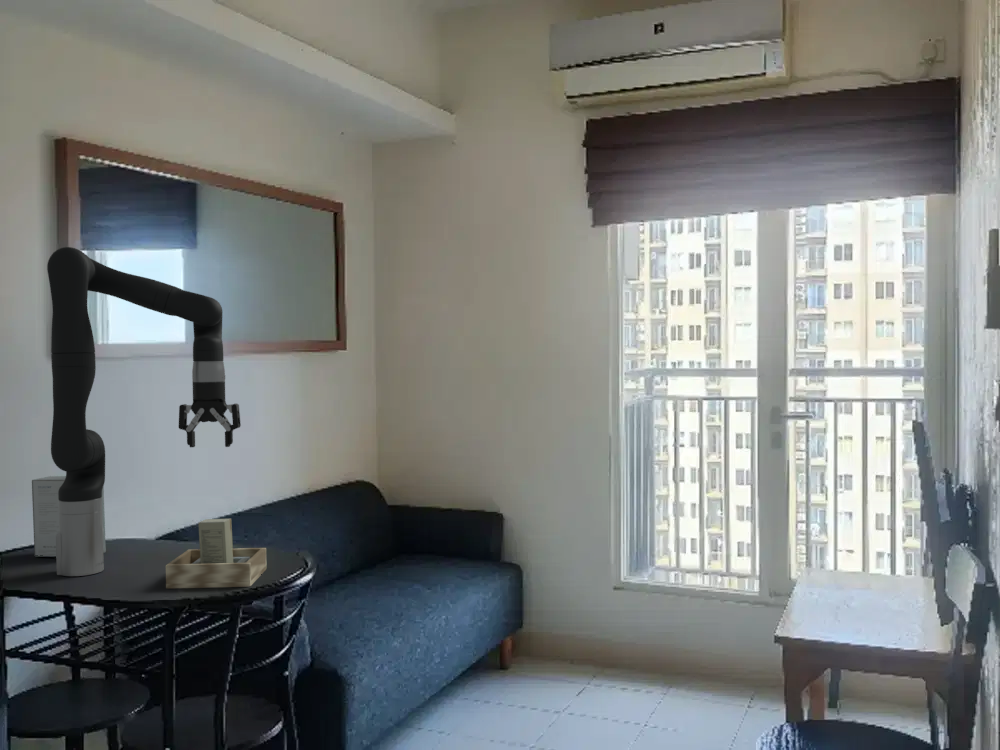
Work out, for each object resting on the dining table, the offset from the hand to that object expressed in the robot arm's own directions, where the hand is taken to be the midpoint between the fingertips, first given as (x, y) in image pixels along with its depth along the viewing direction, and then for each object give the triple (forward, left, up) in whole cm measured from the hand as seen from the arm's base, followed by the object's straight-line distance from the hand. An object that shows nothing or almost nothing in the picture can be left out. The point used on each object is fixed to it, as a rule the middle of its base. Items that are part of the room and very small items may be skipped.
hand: (210, 446), depth 222 cm
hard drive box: (-39, +11, -28) cm, 49 cm away
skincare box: (+6, -17, -27) cm, 32 cm away
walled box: (+6, -17, -28) cm, 33 cm away
